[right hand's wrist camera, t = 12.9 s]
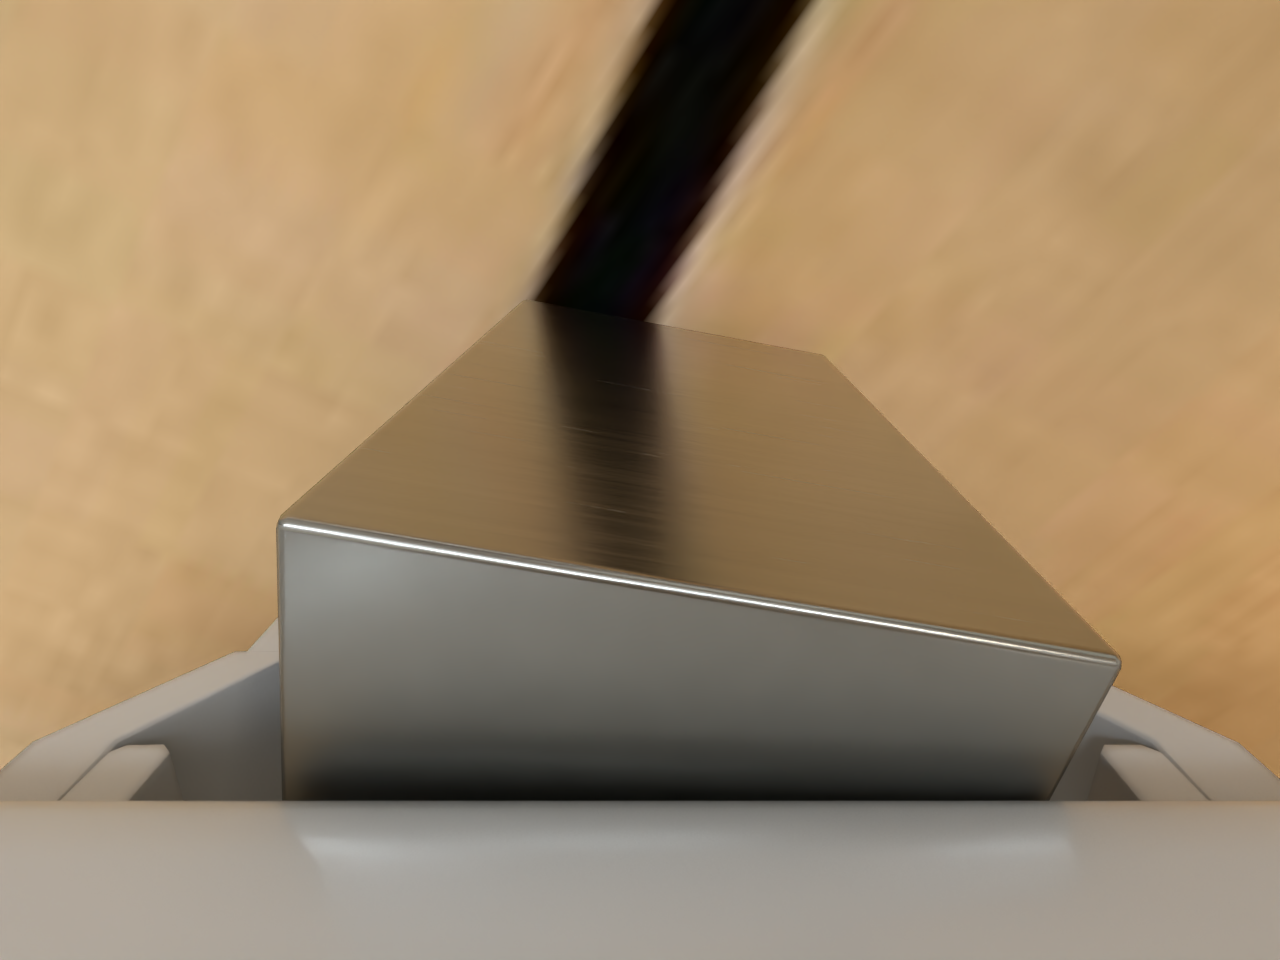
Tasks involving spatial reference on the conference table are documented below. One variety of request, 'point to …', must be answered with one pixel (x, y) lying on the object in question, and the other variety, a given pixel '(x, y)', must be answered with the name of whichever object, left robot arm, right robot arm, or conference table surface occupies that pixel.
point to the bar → (662, 592)
